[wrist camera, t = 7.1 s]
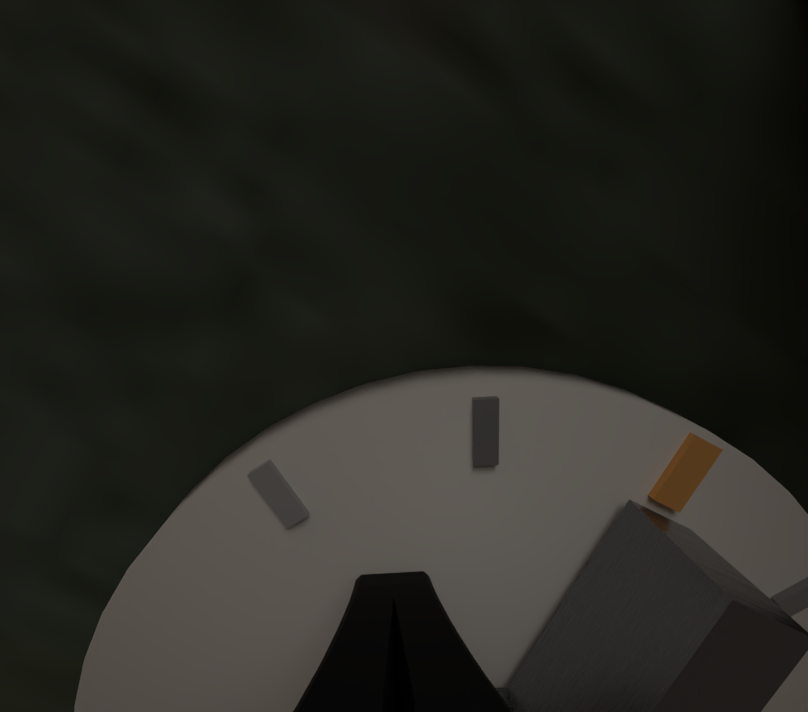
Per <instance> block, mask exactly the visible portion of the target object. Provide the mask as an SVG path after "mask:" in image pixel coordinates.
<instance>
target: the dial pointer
mask: <svg viewBox="0 0 808 712" xmlns="http://www.w3.org/2000/svg"><path fill="white" fill-rule="evenodd" d="M807 651H808V632H807V631H806V630H805V629H804V628H803V627H801V626H800V625H799V624H798V623H797V622H796V621H795V620H793V619H792V618H791V617H790V616H789V615H788V614H787V613H786V612H784V611H783V610H782V609H781V608H780V607H779V606H778V605H776V604H775V603H774V602H773V601H772V600H771V599H770V598H768V597H767V596H766V595H765V594H764V593H763V592H762V591H760V590H759V589H758V588H757V587H756V586H755V585H754V584H753V583H751V582H750V581H749V580H748V579H747V578H746V577H745V576H743V575H742V574H741V573H740V572H739V571H738V570H737V569H735V568H734V567H733V566H732V565H731V564H730V563H729V562H727V561H726V560H725V559H724V558H723V557H722V556H721V555H720V554H718V553H717V552H716V551H715V550H714V549H713V548H712V547H710V546H709V545H708V544H707V543H706V542H705V541H704V540H702V539H701V538H700V537H699V536H698V535H697V534H696V533H694V532H693V531H692V530H691V529H689V528H687V527H685V526H683V525H681V524H679V523H677V522H675V521H673V520H671V519H669V518H666V517H664V516H662V515H660V514H658V513H656V512H654V511H652V510H650V509H648V508H646V507H644V506H642V505H640V504H638V503H636V502H634V501H632V500H630V499H629V501H628V502H627V504H626V505H625V507H624V508H623V510H622V511H621V513H620V514H619V516H618V518H617V519H616V521H615V522H614V524H613V525H612V527H611V528H610V530H609V531H608V533H607V534H606V536H605V538H604V539H603V541H602V542H601V544H600V545H599V547H598V548H597V550H596V551H595V553H594V555H593V556H592V558H591V559H590V561H589V562H588V564H587V565H586V567H585V568H584V570H583V572H582V573H581V575H580V576H579V578H578V579H577V581H576V582H575V584H574V585H573V587H572V588H571V590H570V592H569V593H568V595H567V596H566V598H565V599H564V601H563V602H562V604H561V605H560V607H559V609H558V610H557V612H556V613H555V615H554V616H553V618H552V619H551V621H550V622H549V624H548V626H547V627H546V629H545V630H544V632H543V633H542V635H541V636H540V638H539V639H538V641H537V642H536V644H535V646H534V647H533V649H532V650H531V652H530V653H529V655H528V656H527V658H526V659H525V661H524V663H523V664H522V666H521V667H520V669H519V670H518V672H517V673H516V675H515V676H514V678H513V680H512V681H511V683H510V684H509V686H508V687H507V688H496V690H497V691H498V693H499V694H500V695H501V697H502V698H503V699H504V701H505V702H506V703H507V705H508V706H509V707H510V708H511V710H512V711H513V712H761V711H762V710H763V708H764V707H765V706H766V704H767V703H768V702H769V701H770V699H771V698H772V697H773V695H774V694H775V693H776V691H777V690H778V689H779V687H780V686H781V685H782V684H783V682H784V681H785V680H786V678H787V677H788V676H789V674H790V673H791V672H792V670H793V669H794V668H795V667H796V665H797V664H798V663H799V661H800V660H801V659H802V657H803V656H804V655H805V653H806V652H807Z"/></svg>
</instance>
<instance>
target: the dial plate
mask: <svg viewBox="0 0 808 712" xmlns="http://www.w3.org/2000/svg"><path fill="white" fill-rule="evenodd" d="M629 499H630V500H632V501H634V502H636V503H638V504H640V505H642V506H644V507H646V508H648V509H650V510H652V511H654V512H656V513H658V514H660V515H662V516H664V517H666V518H669V519H671V520H673V521H675V522H677V523H679V524H681V525H683V526H685V527H687V528H689V529H691V530H692V531H693V532H694V533H696V534H697V535H698V536H699V537H700V538H701V539H702V540H704V541H705V542H706V543H707V544H708V545H709V546H710V547H712V548H713V549H714V550H715V551H716V552H717V553H718V554H720V555H721V556H722V557H723V558H724V559H725V560H726V561H727V562H729V563H730V564H731V565H732V566H733V567H734V568H735V569H737V570H738V571H739V572H740V573H741V574H742V575H743V576H745V577H746V578H747V579H748V580H749V581H750V582H751V583H753V584H754V585H755V586H756V587H757V588H758V589H759V590H760V591H762V592H763V593H764V594H765V595H766V596H767V597H768V598H770V599H771V600H772V601H773V602H774V603H775V604H776V605H778V606H779V607H780V608H781V609H782V610H783V611H784V612H786V613H787V614H788V615H789V616H790V617H791V618H792V619H793V620H795V621H796V622H797V623H798V624H799V625H800V626H801V627H803V628H804V629H805V630H806V631H807V632H808V514H807V513H806V512H805V511H804V509H803V508H802V507H801V506H800V504H799V503H798V502H797V501H796V499H795V498H794V497H793V496H792V495H791V493H790V492H789V491H788V490H786V489H785V488H784V487H783V486H782V485H781V484H780V483H779V482H777V481H776V480H775V479H774V478H773V477H772V476H771V475H770V474H768V473H767V472H766V471H765V470H764V469H763V468H762V467H761V466H759V465H758V464H757V463H756V462H755V461H754V460H753V459H751V458H750V457H748V456H747V455H745V454H744V453H742V452H740V451H739V450H737V449H736V448H734V447H733V446H731V445H730V444H728V443H726V442H725V441H723V440H722V439H720V438H719V437H717V436H716V435H714V434H713V433H711V432H709V431H708V430H706V429H704V428H702V427H700V426H698V425H696V424H695V423H693V422H691V421H689V420H687V419H685V418H683V417H681V416H680V415H678V414H676V413H674V412H672V411H670V410H668V409H666V408H664V407H662V406H660V405H657V404H655V403H653V402H651V401H649V400H647V399H644V398H642V397H640V396H638V395H636V394H633V393H631V392H629V391H627V390H625V389H622V388H619V387H615V386H612V385H608V384H605V383H602V382H598V381H595V380H592V379H588V378H585V377H581V376H578V375H574V374H568V373H561V372H555V371H548V370H542V369H535V368H529V367H515V366H462V367H452V368H443V369H433V370H424V371H416V372H412V373H408V374H403V375H399V376H395V377H391V378H387V379H382V380H378V381H374V382H370V383H366V384H363V385H360V386H357V387H355V388H352V389H349V390H347V391H344V392H341V393H339V394H336V395H333V396H331V397H328V398H325V399H323V400H320V401H317V402H315V403H313V404H311V405H309V406H307V407H305V408H303V409H302V410H300V411H298V412H296V413H294V414H292V415H290V416H288V417H287V418H285V419H283V420H281V421H279V422H277V423H275V424H273V425H272V426H270V427H268V428H266V429H265V430H264V431H262V432H261V433H259V434H258V435H257V436H255V437H254V438H252V439H251V440H250V441H248V442H247V443H245V444H244V445H243V446H241V447H240V448H238V449H237V450H236V451H234V452H233V453H231V454H230V455H229V456H227V457H226V458H225V459H224V460H223V461H222V462H221V463H220V464H218V465H217V466H216V467H215V468H214V469H213V470H212V471H211V472H210V473H209V474H208V475H207V476H206V477H205V478H204V479H203V480H202V481H200V482H199V483H198V484H197V485H196V486H195V487H194V488H193V489H192V490H191V491H190V492H189V493H188V494H187V496H186V497H185V498H184V499H183V501H182V502H181V503H180V504H179V506H178V507H177V508H176V509H175V511H174V512H173V513H172V514H171V516H170V517H169V518H168V519H167V521H166V522H165V523H164V524H163V525H162V527H161V528H160V529H159V531H158V532H157V533H156V534H155V536H154V537H153V538H152V539H151V541H150V542H149V543H148V544H147V546H146V547H145V548H144V549H143V551H142V552H141V553H140V554H139V556H138V557H137V558H136V559H135V561H134V562H133V563H132V564H131V566H130V567H129V568H128V570H127V571H126V573H125V575H124V576H123V578H122V580H121V582H120V583H119V585H118V587H117V589H116V590H115V592H114V594H113V596H112V597H111V599H110V601H109V603H108V604H107V606H106V608H105V609H104V611H103V613H102V615H101V618H100V620H99V623H98V625H97V628H96V631H95V633H94V636H93V638H92V641H91V644H90V646H89V649H88V651H87V654H86V657H85V659H84V663H83V668H82V673H81V678H80V682H79V687H78V692H77V697H76V702H75V707H74V712H293V711H294V709H295V708H296V706H297V704H298V702H299V701H300V699H301V697H302V695H303V694H304V692H305V690H306V688H307V687H308V685H309V683H310V681H311V679H312V678H313V676H314V674H315V672H316V671H317V669H318V667H319V665H320V663H321V661H322V659H323V658H324V655H325V653H326V651H327V649H328V647H329V645H330V643H331V641H332V639H333V637H334V635H335V633H336V631H337V629H338V627H339V624H340V622H341V620H342V617H343V615H344V613H345V610H346V608H347V605H348V603H349V600H350V597H351V594H352V591H353V588H354V585H355V581H356V579H357V578H358V577H359V576H360V575H364V574H382V573H399V572H417V571H424V572H425V573H426V574H427V575H428V576H429V577H430V580H431V582H432V585H433V587H434V589H435V592H436V594H437V596H438V598H439V600H440V602H441V604H442V606H443V607H444V609H445V611H446V613H447V615H448V616H449V618H450V620H451V622H452V624H453V625H454V627H455V629H456V630H457V632H458V634H459V635H460V637H461V638H462V640H463V641H464V643H465V645H466V646H467V648H468V649H469V651H470V652H471V654H472V656H473V657H474V659H475V660H476V662H477V663H478V665H479V666H480V667H481V669H482V670H483V672H484V673H485V675H486V676H487V677H488V679H489V680H490V682H491V683H492V684H493V686H494V687H495V688H507V687H508V686H509V684H510V683H511V681H512V680H513V678H514V676H515V675H516V673H517V672H518V670H519V669H520V667H521V666H522V664H523V663H524V661H525V659H526V658H527V656H528V655H529V653H530V652H531V650H532V649H533V647H534V646H535V644H536V642H537V641H538V639H539V638H540V636H541V635H542V633H543V632H544V630H545V629H546V627H547V626H548V624H549V622H550V621H551V619H552V618H553V616H554V615H555V613H556V612H557V610H558V609H559V607H560V605H561V604H562V602H563V601H564V599H565V598H566V596H567V595H568V593H569V592H570V590H571V588H572V587H573V585H574V584H575V582H576V581H577V579H578V578H579V576H580V575H581V573H582V572H583V570H584V568H585V567H586V565H587V564H588V562H589V561H590V559H591V558H592V556H593V555H594V553H595V551H596V550H597V548H598V547H599V545H600V544H601V542H602V541H603V539H604V538H605V536H606V534H607V533H608V531H609V530H610V528H611V527H612V525H613V524H614V522H615V521H616V519H617V518H618V516H619V514H620V513H621V511H622V510H623V508H624V507H625V505H626V504H627V502H628V501H629ZM761 712H808V651H807V652H806V653H805V655H804V656H803V657H802V659H801V660H800V661H799V663H798V664H797V665H796V667H795V668H794V669H793V670H792V672H791V673H790V674H789V676H788V677H787V678H786V680H785V681H784V682H783V684H782V685H781V686H780V687H779V689H778V690H777V691H776V693H775V694H774V695H773V697H772V698H771V699H770V701H769V702H768V703H767V704H766V706H765V707H764V708H763V710H762V711H761Z"/></svg>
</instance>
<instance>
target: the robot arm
mask: <svg viewBox="0 0 808 712" xmlns="http://www.w3.org/2000/svg"><path fill="white" fill-rule="evenodd" d="M293 712H513V711H512V710H511V708H510V707H509V706H508V705H507V703H506V702H505V701H504V699H503V698H502V697H501V695H500V694H499V693H498V691H497V690H496V688H495V687H494V686H493V684H492V683H491V682H490V680H489V679H488V677H487V676H486V675H485V673H484V672H483V670H482V669H481V667H480V666H479V665H478V663H477V662H476V660H475V659H474V657H473V656H472V654H471V652H470V651H469V649H468V648H467V646H466V645H465V643H464V641H463V640H462V638H461V637H460V635H459V634H458V632H457V630H456V629H455V627H454V625H453V624H452V622H451V620H450V618H449V616H448V615H447V613H446V611H445V609H444V607H443V606H442V604H441V602H440V600H439V598H438V596H437V594H436V592H435V589H434V587H433V585H432V582H431V580H430V577H429V576H428V575H427V574H426V573H425V572H424V571H417V572H399V573H382V574H364V575H360V576H359V577H358V578H357V579H356V581H355V585H354V588H353V591H352V594H351V597H350V600H349V603H348V605H347V608H346V610H345V613H344V615H343V617H342V620H341V622H340V624H339V627H338V629H337V631H336V633H335V635H334V637H333V639H332V641H331V643H330V645H329V647H328V649H327V651H326V653H325V655H324V658H323V659H322V661H321V663H320V665H319V667H318V669H317V671H316V672H315V674H314V676H313V678H312V679H311V681H310V683H309V685H308V687H307V688H306V690H305V692H304V694H303V695H302V697H301V699H300V701H299V702H298V704H297V706H296V708H295V709H294V711H293Z"/></svg>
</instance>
